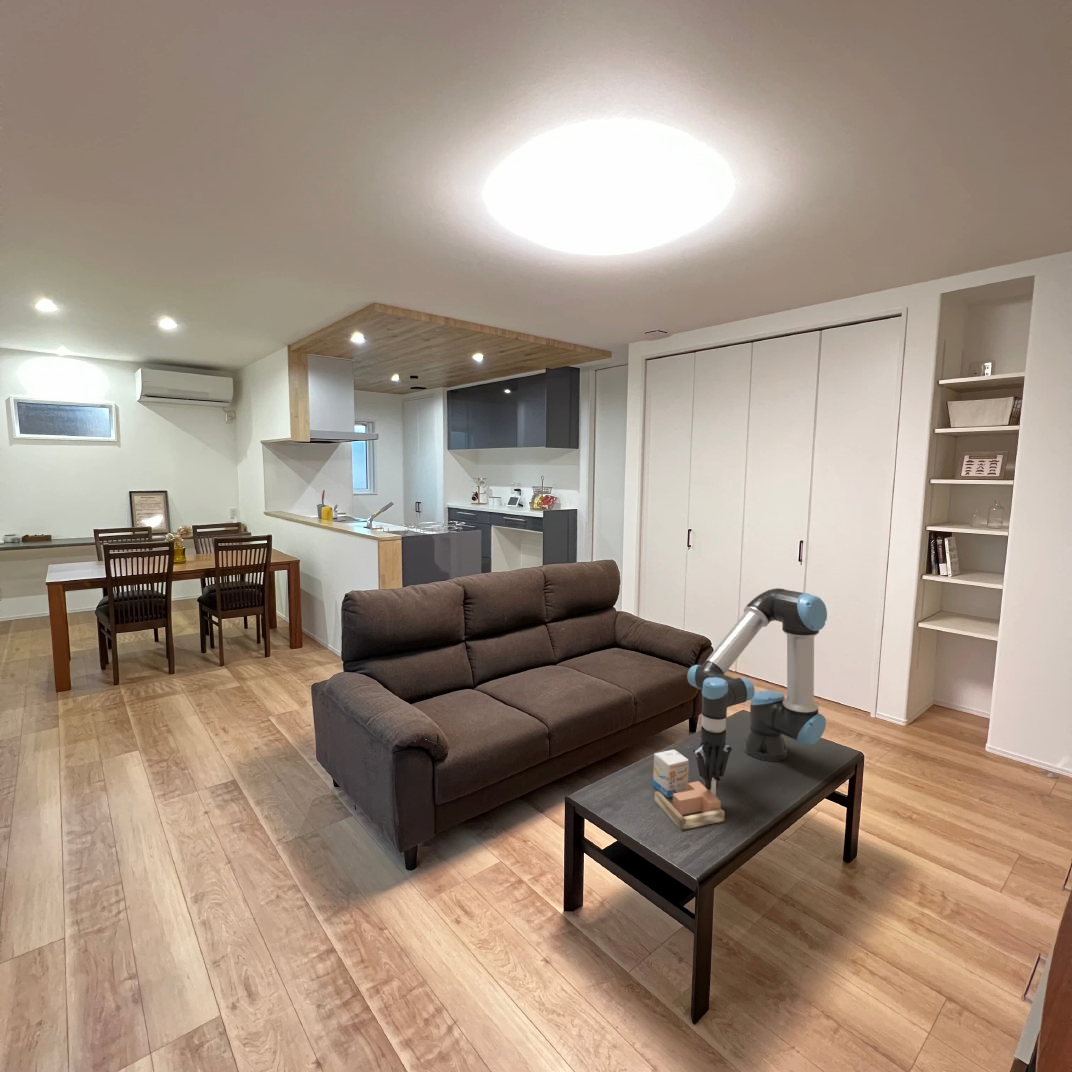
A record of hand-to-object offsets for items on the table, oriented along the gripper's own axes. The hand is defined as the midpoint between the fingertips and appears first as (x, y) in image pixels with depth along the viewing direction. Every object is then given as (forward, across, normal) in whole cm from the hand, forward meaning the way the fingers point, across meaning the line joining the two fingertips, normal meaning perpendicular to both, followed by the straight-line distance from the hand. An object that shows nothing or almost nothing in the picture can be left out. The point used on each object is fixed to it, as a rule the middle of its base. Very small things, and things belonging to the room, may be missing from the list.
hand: (711, 797), depth 183 cm
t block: (+3, +7, 0) cm, 7 cm away
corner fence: (+2, +9, +1) cm, 9 cm away
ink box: (+3, +8, -12) cm, 14 cm away
